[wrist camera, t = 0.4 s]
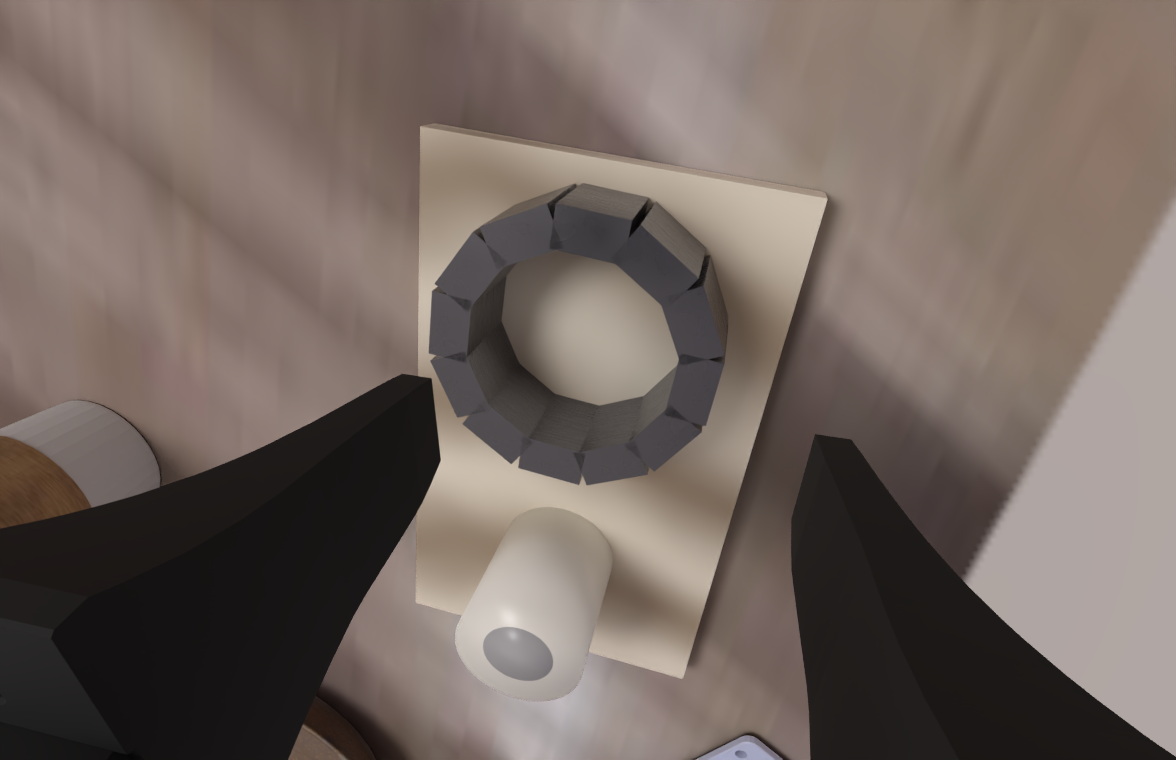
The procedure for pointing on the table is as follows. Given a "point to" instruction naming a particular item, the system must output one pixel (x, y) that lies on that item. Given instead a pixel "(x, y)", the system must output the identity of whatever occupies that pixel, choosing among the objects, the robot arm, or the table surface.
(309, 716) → the plant saucer
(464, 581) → the mount plate
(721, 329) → the dark grey segmented ring
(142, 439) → the coffee cup
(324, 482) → the robot arm
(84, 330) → the table surface
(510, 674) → the white cylinder
